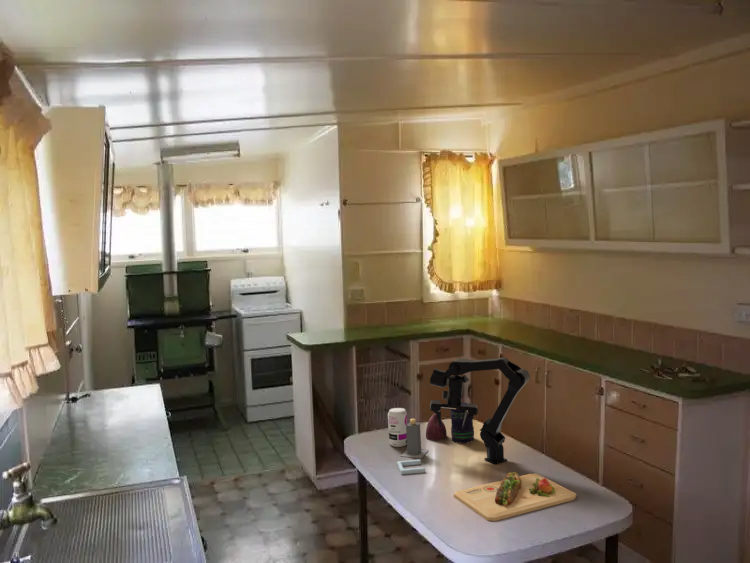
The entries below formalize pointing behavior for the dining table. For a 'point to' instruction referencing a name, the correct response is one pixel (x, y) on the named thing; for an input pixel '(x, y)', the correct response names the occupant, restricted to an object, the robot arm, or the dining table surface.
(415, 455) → the grey pad
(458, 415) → the storage jar
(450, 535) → the dining table surface
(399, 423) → the supplement can
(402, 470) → the blue bay
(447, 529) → the dining table surface
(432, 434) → the vegetable
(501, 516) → the cutting board
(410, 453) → the plug block
